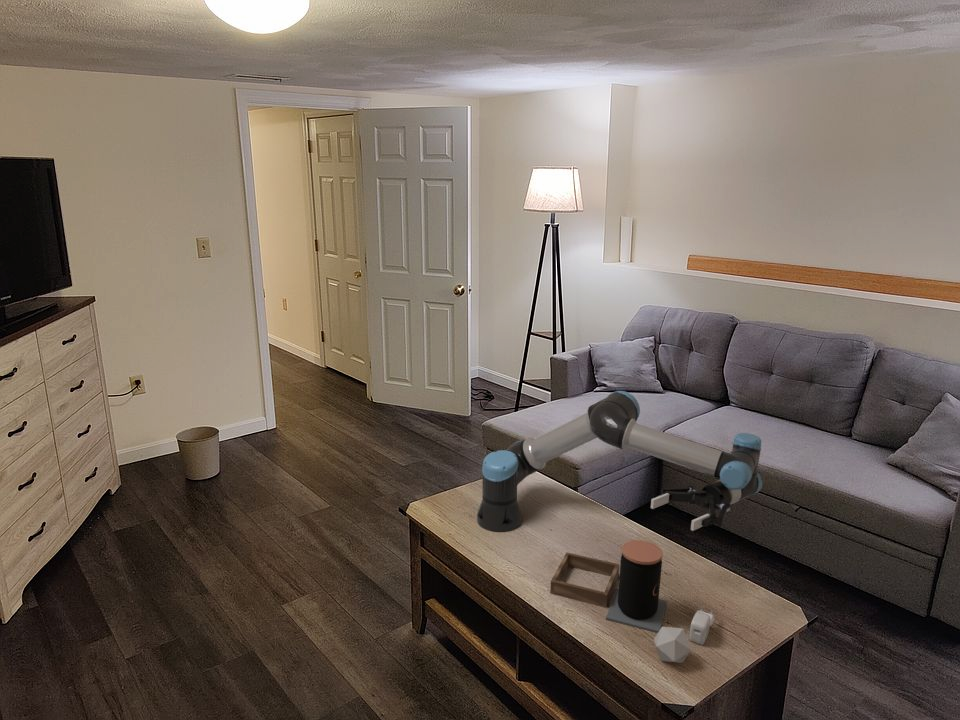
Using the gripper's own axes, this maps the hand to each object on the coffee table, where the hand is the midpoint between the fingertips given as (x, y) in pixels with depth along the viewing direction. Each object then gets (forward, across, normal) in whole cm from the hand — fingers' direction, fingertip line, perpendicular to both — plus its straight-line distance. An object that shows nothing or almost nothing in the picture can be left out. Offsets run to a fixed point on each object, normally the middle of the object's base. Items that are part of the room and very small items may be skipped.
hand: (671, 514), depth 182 cm
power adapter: (+2, -15, -26) cm, 31 cm away
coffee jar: (+10, 0, -26) cm, 28 cm away
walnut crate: (+13, +17, -27) cm, 34 cm away
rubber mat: (+10, 0, -26) cm, 28 cm away
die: (+17, -17, -26) cm, 36 cm away
